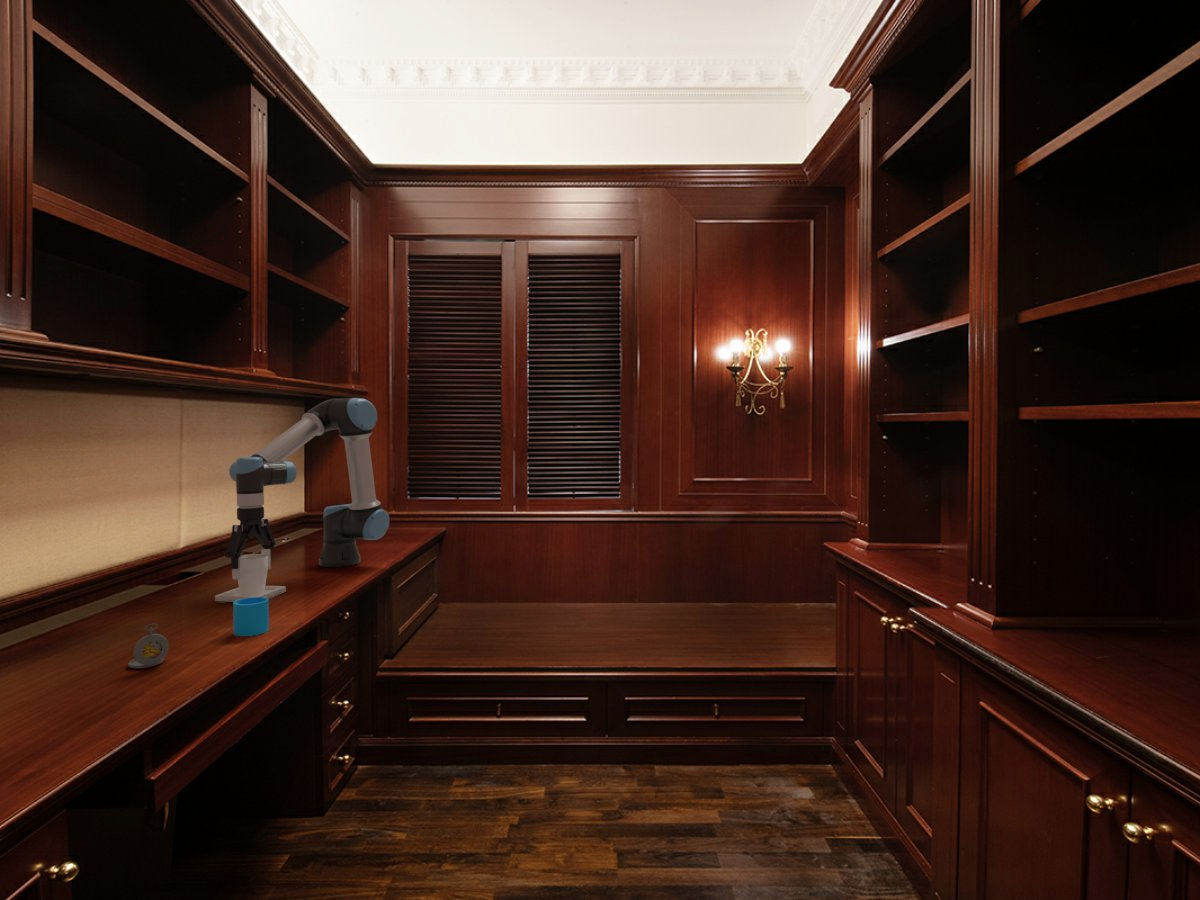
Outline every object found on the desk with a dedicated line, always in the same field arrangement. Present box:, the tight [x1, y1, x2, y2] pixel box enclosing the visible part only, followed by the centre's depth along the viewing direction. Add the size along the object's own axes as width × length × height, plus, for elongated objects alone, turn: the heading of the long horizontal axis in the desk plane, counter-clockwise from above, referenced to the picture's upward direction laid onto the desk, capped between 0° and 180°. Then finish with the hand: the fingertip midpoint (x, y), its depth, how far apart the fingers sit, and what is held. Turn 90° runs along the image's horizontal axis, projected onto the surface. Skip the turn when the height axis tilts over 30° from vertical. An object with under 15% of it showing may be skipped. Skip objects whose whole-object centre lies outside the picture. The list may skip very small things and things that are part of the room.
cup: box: [237, 553, 269, 596], centre depth 206 cm, size 9×9×12 cm
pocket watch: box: [127, 623, 170, 669], centre depth 146 cm, size 8×8×10 cm
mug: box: [232, 597, 270, 637], centre depth 173 cm, size 12×8×8 cm
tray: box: [214, 585, 287, 603], centre depth 206 cm, size 14×14×2 cm
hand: (252, 574), depth 206 cm, fingers open, 13 cm apart
